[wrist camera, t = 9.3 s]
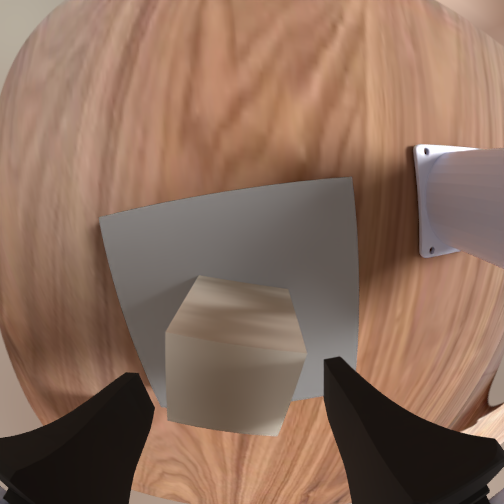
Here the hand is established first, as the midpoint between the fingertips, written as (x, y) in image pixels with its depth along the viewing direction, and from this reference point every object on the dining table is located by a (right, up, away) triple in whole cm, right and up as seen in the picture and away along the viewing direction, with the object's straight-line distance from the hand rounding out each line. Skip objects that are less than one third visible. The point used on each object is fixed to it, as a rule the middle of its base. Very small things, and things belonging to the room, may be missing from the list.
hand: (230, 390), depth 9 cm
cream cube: (0, +1, +6) cm, 6 cm away
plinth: (0, +2, +9) cm, 9 cm away
